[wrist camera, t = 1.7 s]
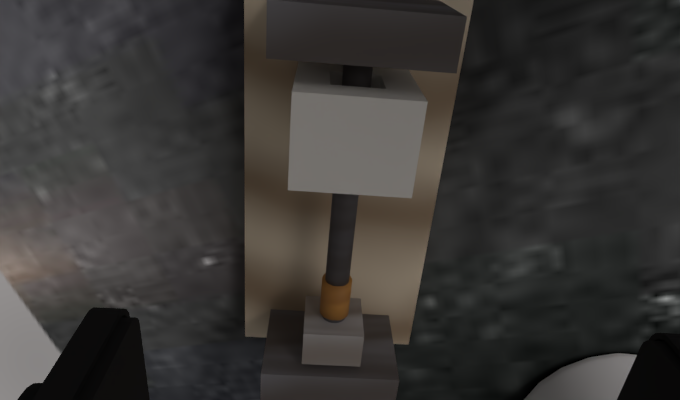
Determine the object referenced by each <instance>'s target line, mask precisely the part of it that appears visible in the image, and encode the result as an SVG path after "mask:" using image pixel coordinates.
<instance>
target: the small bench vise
mask: <svg viewBox="0 0 680 400" xmlns="http://www.w3.org/2000/svg"><path fill="white" fill-rule="evenodd" d="M473 2H474V0H244V136H245V337H264V338H266V344H265V350H264V357H263V363H262V370H261V395H260V400H396V395H397V390H398V384H399V375H398V369H397V363H396V357H395V350H394V344H409V339H410V334H411V329H412V323H413V318H414V313H415V308H416V302H417V297H418V292H419V286H420V281H421V276H422V271H423V265H424V260H425V255H426V250H427V244H428V239H429V234H430V228H431V223H432V218H433V213H434V207H435V202H436V197H437V192H438V186H439V181H440V176H441V170H442V165H443V160H444V155H445V149H446V144H447V139H448V134H449V128H450V123H451V118H452V112H453V107H454V102H455V97H456V91H457V86H458V81H459V75H460V70H461V65H462V60H463V54H464V49H465V44H466V39H467V33H468V28H469V23H470V17H471V12H472V7H473ZM299 61H300V62H312V63H325V64H338V65H343V75H342V86H355V87H368V88H371V80H372V71H373V67H376V68H389V69H401V70H409V71H410V73H411V75H412V76H413V78H414V80H415V81H416V83H417V85H418V86H419V88H420V90H421V91H422V93H423V95H424V96H425V98H426V100H427V101H428V103H427V110H426V116H425V122H424V128H423V134H422V140H421V146H420V152H419V158H418V164H417V170H416V176H415V182H414V188H413V194H412V198H399V197H384V196H368V195H353V194H337V193H322V192H306V191H291V190H288V171H289V146H290V121H291V96H292V88H293V84H294V79H295V75H296V71H297V66H298V62H299Z"/></svg>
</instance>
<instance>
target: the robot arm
mask: <svg viewBox="0 0 680 400" xmlns="http://www.w3.org/2000/svg"><path fill="white" fill-rule="evenodd" d="M18 400H149V392H148V385H147V377H146V369H145V362H144V354H143V346H142V339H141V331H140V324H139V320H138V318H130V316H129V312H128V311H127V310H126V309H116V308H92V309H90V310H89V312H88V313H87V314H86V316H85V317H84V319H83V321H82V322H81V324H80V325H79V327H78V329H77V330H76V332H75V333H74V335H73V336H72V338H71V340H70V341H69V343H68V344H67V346H66V347H65V349H64V351H63V352H62V354H61V355H60V357H59V358H58V360H57V362H56V363H55V365H54V366H53V368H52V369H51V371H50V373H49V374H48V376H47V377H46V379H45V380H44V382H43V383H35V384H32V385H30V386H29V387H27V388H26V390H25V391H24V392H23V393H22V394H21V396H20V397H19V398H18ZM617 400H680V334H669V333H655V334H654V335H652V336H651V338H650V339H649V341H645V342H644V343H643V344H642V346H641V348H640V350H639V352H638V354H637V356H636V358H635V361H634V363H633V365H632V367H631V369H630V372H629V374H628V376H627V378H626V380H625V383H624V385H623V387H622V389H621V391H620V394H619V396H618V398H617Z"/></svg>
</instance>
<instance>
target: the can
mask: <svg viewBox="0 0 680 400" xmlns="http://www.w3.org/2000/svg"><path fill="white" fill-rule="evenodd" d="M636 356H637V355H634V354H623V353H615V354H608V355H601V356H594V357H588V358H586V359H583V360H580V361H578V362H575V363H572V364H570V365H567V366H565V367H562V368H560V369H559V370H557V371H556V372H554V373H553V374H551V375H550V376H548V377H547V378H545V379H544V380H542V381H541V382H539V383H538V384H537V385H536V386H535V388H534V389H533V390H532V391H531V392H530V393H529V394H528V395H527V397H526V398H525V399H524V400H617V398H618V396H619V394H620V391H621V389H622V387H623V385H624V383H625V380H626V378H627V376H628V374H629V372H630V369H631V367H632V365H633V363H634V361H635V358H636Z"/></svg>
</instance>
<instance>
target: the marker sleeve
mask: <svg viewBox="0 0 680 400" xmlns="http://www.w3.org/2000/svg"><path fill="white" fill-rule="evenodd" d="M342 75H343V65H338V64H325V63H312V62H300V61H299V62H298V66H297V71H296V75H295V79H294V84H293V88H292V96H291V121H290V146H289V171H288V190H291V191H306V192H322V193H337V194H353V195H368V196H384V197H399V198H412V194H413V188H414V182H415V176H416V170H417V164H418V158H419V152H420V146H421V140H422V134H423V128H424V122H425V116H426V110H427V103H428V101H427V100H426V98H425V96H424V95H423V93H422V91H421V90H420V88H419V86H418V85H417V83H416V81H415V80H414V78H413V76H412V75H411V73H410V71H409V70H401V69H389V68H376V67H373V71H372V80H371V88H368V87H355V86H342Z"/></svg>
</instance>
